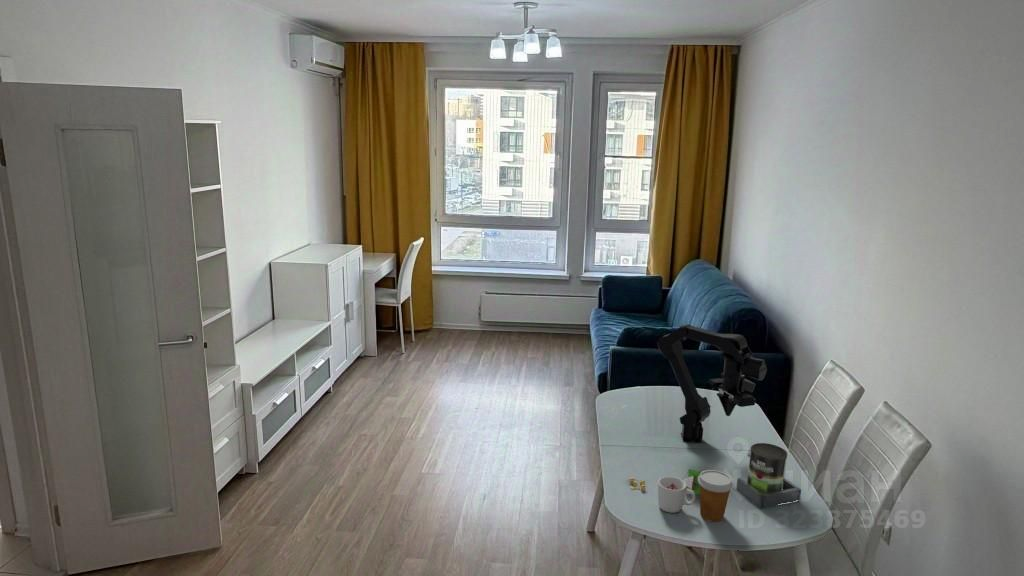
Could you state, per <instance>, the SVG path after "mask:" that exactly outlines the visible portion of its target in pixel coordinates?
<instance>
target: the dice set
mask: <svg viewBox="0 0 1024 576" xmlns="http://www.w3.org/2000/svg"><path fill="white" fill-rule="evenodd" d="M629 483H630V484H633V486H630V490H633V491H634V490H635V488H636V490H640V491H641V492H646V485H645V484H646V482H645V480H640V481H639V483H638V480H636V478H635V477H630V478H629ZM638 484H639V486H638Z"/></svg>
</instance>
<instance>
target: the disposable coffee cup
mask: <svg viewBox="0 0 1024 576" xmlns="http://www.w3.org/2000/svg"><path fill="white" fill-rule="evenodd" d="M700 472H701V473H700V476H698V482H699V491H700V492H699V493H700V495H699V512H700V513H699V514H700V517H701V518H702V519H704V520H706V521H708V522H714V523H715V522H716V523H717V522H721V521H722V520H723V519H724V515H725V513H726V508H727V504H728V500H729V497H730V492H731V490H732V488H733V485H734V483H733V481H732V478H731V476H730V475H729V474H727V473H725V472H724V471H720V470H715V469H706V470H703V471H700Z"/></svg>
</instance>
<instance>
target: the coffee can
mask: <svg viewBox="0 0 1024 576" xmlns="http://www.w3.org/2000/svg"><path fill="white" fill-rule="evenodd" d="M750 449H751V455H750V457H749V463H748V472H747V473H748V474H747V478H746V479H747V481H746V482H747V483H748V484H750V485H751V486H752V487H754V488H755V489H756V490H758V491H759V492H760V493H762V494H765V493H771V492H776V491H781V490H782V487H783V480H784V478H785V473H786V464H787V458H788V452H787V451H786V450H785V449H784V448H782V447H781V446H778V445H776V444H772V443H766V442H759V443H754V444H752V445H751V446H750Z"/></svg>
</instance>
